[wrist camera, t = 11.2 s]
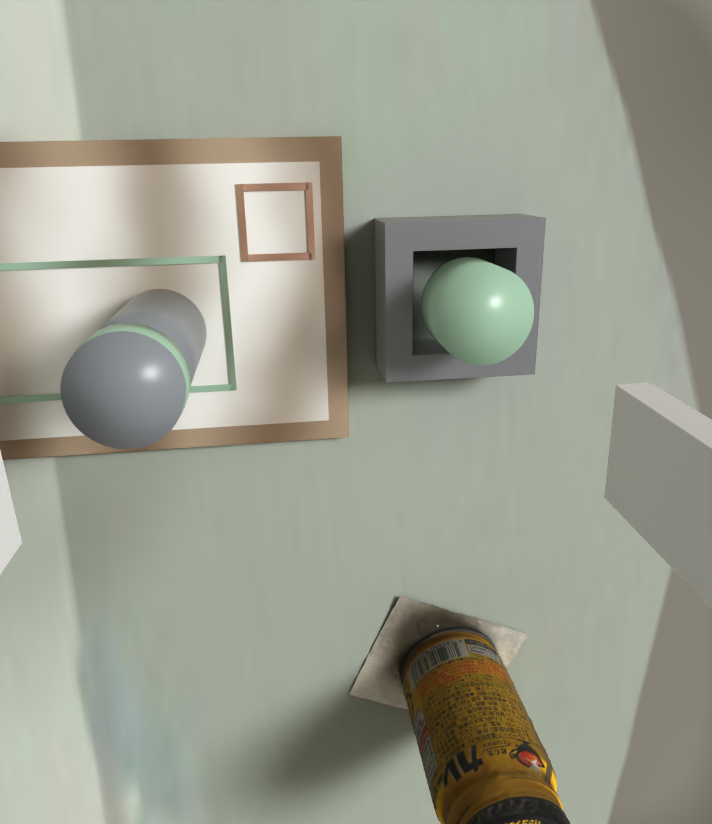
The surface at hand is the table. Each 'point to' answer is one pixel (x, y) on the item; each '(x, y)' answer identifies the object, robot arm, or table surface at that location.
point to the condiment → (463, 715)
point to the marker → (135, 371)
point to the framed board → (177, 280)
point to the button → (477, 310)
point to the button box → (394, 248)
